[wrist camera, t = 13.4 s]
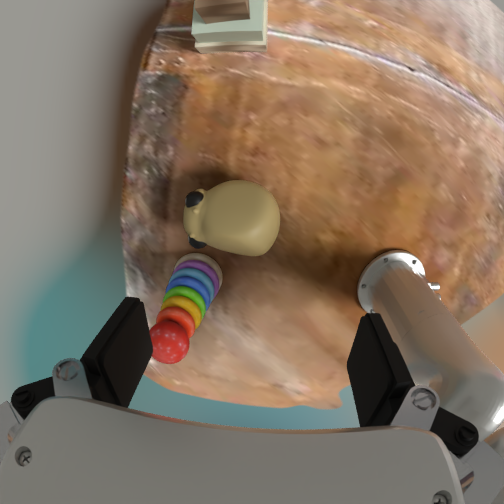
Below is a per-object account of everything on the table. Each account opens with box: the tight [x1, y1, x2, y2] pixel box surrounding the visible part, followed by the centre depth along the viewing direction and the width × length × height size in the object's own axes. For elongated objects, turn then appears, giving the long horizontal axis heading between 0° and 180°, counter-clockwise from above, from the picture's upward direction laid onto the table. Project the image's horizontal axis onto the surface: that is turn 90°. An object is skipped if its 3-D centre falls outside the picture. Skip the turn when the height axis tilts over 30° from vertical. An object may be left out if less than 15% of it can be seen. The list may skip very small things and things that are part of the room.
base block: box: [195, 0, 268, 54], centre depth 28 cm, size 9×9×4 cm
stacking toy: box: [149, 253, 223, 364], centre depth 37 cm, size 8×8×19 cm
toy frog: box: [183, 180, 280, 256], centre depth 36 cm, size 10×12×11 cm
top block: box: [192, 0, 264, 43], centre depth 24 cm, size 8×8×4 cm
